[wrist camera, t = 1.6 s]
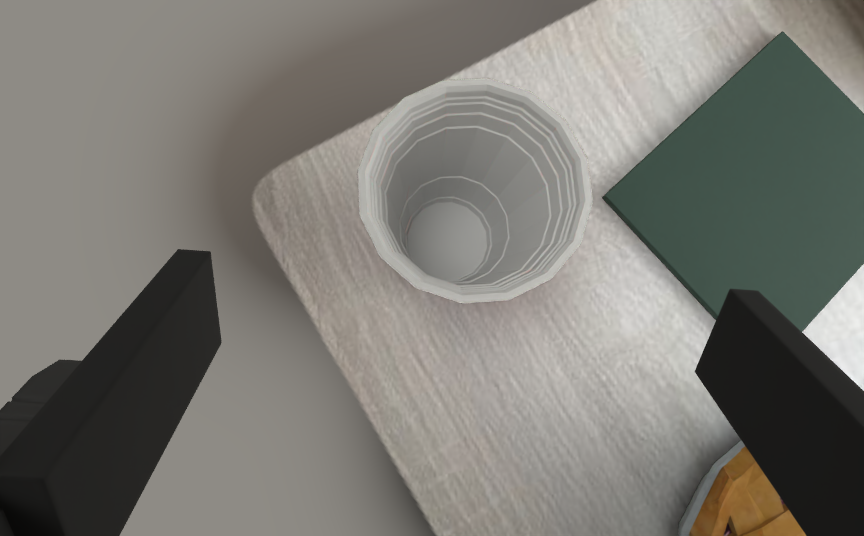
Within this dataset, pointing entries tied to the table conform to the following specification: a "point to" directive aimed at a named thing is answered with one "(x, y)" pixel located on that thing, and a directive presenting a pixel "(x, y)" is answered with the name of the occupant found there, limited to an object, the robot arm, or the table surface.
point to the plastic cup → (474, 190)
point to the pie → (737, 501)
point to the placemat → (757, 188)
